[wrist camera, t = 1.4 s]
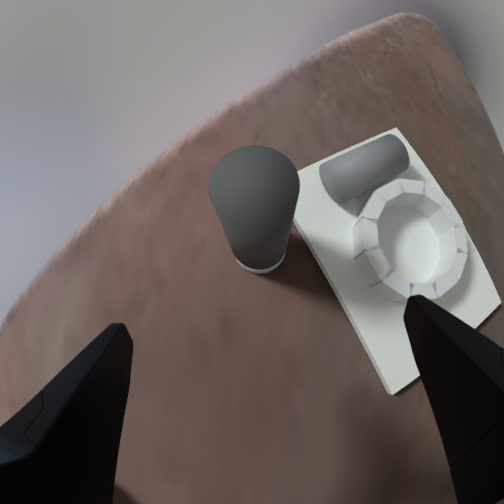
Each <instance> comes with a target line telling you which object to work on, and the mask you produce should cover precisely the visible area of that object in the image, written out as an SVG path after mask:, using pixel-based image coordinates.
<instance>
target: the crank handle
mask: <svg viewBox="0 0 504 504" xmlns="http://www.w3.org/2000/svg"><path fill="white" fill-rule="evenodd" d="M299 192H300V179H299V175H298V172H297V170H296V168H295V166H294V165H293V163H292V162H291V161H290V160H289V159H288V158H287V157H286V156H285V155H283V154H282V153H280V152H279V151H277V150H275V149H272V148H269V147H265V146H245V147H241V148H238V149H236V150H233V151H231V152H229V153H228V154H226V155H225V156H224V157H223V158H222V159H220V160H219V162H218V163H217V164H216V165H215V167H214V169H213V171H212V173H211V176H210V179H209V195H210V199H211V201H212V204H213V206H214V208H215V211H216V213H217V215H218V218H219V220H220V223H221V225H222V227H223V230H224V232H225V234H226V237H227V239H228V241H229V244H230V246H231V248H232V251H233V253H234V255H235V258H236V260H237V262H238V263H239V264H240V266H241V267H242V268H244V269H245V270H247V271H249V272H251V273H255V274H264V273H268V272H271V271H273V270H274V269H276V268H277V267H278V266H279V265H280V264H281V262H282V261H283V259H284V256H285V253H286V249H287V244H288V240H289V236H290V232H291V227H292V223H293V219H294V214H295V210H296V205H297V201H298V196H299Z"/></svg>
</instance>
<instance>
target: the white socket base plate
mask: <svg viewBox="0 0 504 504" xmlns="http://www.w3.org/2000/svg"><path fill="white" fill-rule="evenodd" d="M297 172H298V175H299V179H300V192H299V196H298V201H297V205H296V210H295V214H294V219H293V222H294V224H295V226H296V227H297V229H298V231H299V232H300V234H301V236H302V237H303V239H304V241H305V242H306V244H307V246H308V247H309V249H310V251H311V253H312V254H313V256H314V258H315V259H316V261H317V263H318V265H319V266H320V268H321V270H322V272H323V273H324V275H325V277H326V279H327V280H328V282H329V284H330V286H331V287H332V289H333V291H334V293H335V295H336V296H337V298H338V300H339V302H340V304H341V305H342V307H343V309H344V311H345V313H346V314H347V316H348V318H349V320H350V322H351V324H352V326H353V327H354V329H355V331H356V333H357V335H358V337H359V339H360V340H361V342H362V344H363V346H364V348H365V350H366V352H367V354H368V356H369V358H370V360H371V361H372V363H373V365H374V367H375V369H376V371H377V373H378V375H379V377H380V379H381V381H382V383H383V385H384V387H385V389H386V391H387V393H389V394H391V395H393V394H395V393H396V392H398V391H399V390H401V389H402V388H403V387H405V386H406V385H408V384H409V383H410V382H412V381H413V380H414V379H416V378H417V377H418V376H420V374H419V371H418V368H417V366H416V363H415V360H414V356H413V353H412V349H411V346H410V342H409V338H408V335H407V331H406V328H405V324H404V320H403V315H404V311H405V307H406V304H407V300H408V298H409V296H411V295H417V294H421V295H423V296H425V297H426V298H428V299H429V300H431V301H433V302H434V303H436V304H437V305H439V306H440V307H442V308H444V309H445V310H447V311H448V312H450V313H451V314H453V315H454V316H456V317H457V318H459V319H461V320H462V321H464V322H465V323H467V324H468V325H470V326H471V327H473V328H474V329H475V328H476V327H477V326H478V325H479V324H480V323H481V322H482V321H484V320H485V319H486V318H487V317H488V316H489V315H490V314H491V313H492V312H493V311H494V310H495V308H496V307H497V306H498V305H499V304H500V303H501V301H500V298H499V296H498V294H497V291H496V289H495V287H494V285H493V282H492V280H491V278H490V276H489V274H488V272H487V269H486V267H485V265H484V263H483V261H482V259H481V257H480V255H479V253H478V251H477V249H476V248H475V246H474V244H473V242H472V240H471V238H470V236H469V235H468V233H467V231H466V229H465V227H464V225H463V221H462V219H461V218H460V216H459V214H458V213H457V211H456V209H455V208H454V206H453V204H452V203H451V201H450V200H449V199H447V198H448V197H447V196H445V194H444V193H443V191H442V190H441V188H440V187H439V185H438V184H437V182H436V181H435V179H434V178H433V176H432V175H431V173H430V172H429V170H428V169H427V167H426V166H425V165H424V163H423V162H422V160H421V159H420V158H419V156H418V155H417V154H416V152H415V151H414V150H413V148H412V147H411V146H410V144H409V143H408V142H407V140H406V139H405V138H404V137H403V135H402V134H401V133H400V132H399V130H398V129H397V128H394V129H392V130H389V131H387V132H384V133H382V134H380V135H377V136H375V137H373V138H370V139H368V140H366V141H363V142H361V143H359V144H357V145H354V146H352V147H350V148H347V149H345V150H343V151H341V152H338V153H336V154H334V155H332V156H330V157H327V158H325V159H323V160H321V161H319V162H316V163H314V164H312V165H310V166H308V167H306V168H304V169H301V170H299V171H297Z"/></svg>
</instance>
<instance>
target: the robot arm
mask: <svg viewBox="0 0 504 504" xmlns="http://www.w3.org/2000/svg"><path fill="white" fill-rule="evenodd" d="M403 320H404V324H405V328H406V331H407V335H408V338H409V342H410V346H411V349H412V353H413V356H414V360H415V363H416V366H417V368H418V371H419V374H420V376H421V379H422V382H423V385H424V387H425V390H426V393H427V396H428V399H429V402H430V405H431V407H432V410H433V413H434V417H435V420H436V423H437V426H438V429H439V432H440V436H441V439H442V442H443V446H444V449H445V453H446V456H447V460H448V464H449V467H450V472H451V476H452V480H453V484H454V488H455V493H456V497H457V502H458V504H495V503H497V502H498V504H504V348H502V347H499V345H498V344H496V343H495V342H493V341H492V340H491V339H489V338H488V337H486V336H485V335H483V334H482V333H480V332H479V331H477V330H476V329H474V328H473V327H471V326H470V325H468V324H467V323H465V322H464V321H462V320H461V319H459V318H457V317H456V316H454V315H453V314H451V313H450V312H448V311H447V310H445V309H444V308H442V307H440V306H439V305H437V304H436V303H434V302H433V301H431V300H429V299H428V298H426V297H425V296H423V295H421V294H417V295H411V296H409V298H408V300H407V304H406V307H405V311H404V315H403ZM132 355H133V341H132V339H131V337H130V334H129V332H128V330H127V328H126V326H125V325H124V324H123V323H112V324H110V325H109V326H108V327H107V328H106V329H105V330H104V331H103V332H101V333H100V334H99V335H98V336H97V337H96V338H95V339H94V340H93V341H92V342H91V343H90V344H89V345H87V346H86V347H85V348H84V349H83V350H82V351H81V352H80V353H79V354H78V355H77V356H76V357H75V358H74V359H73V360H72V361H71V362H70V363H68V364H67V365H66V366H65V367H64V368H63V369H62V370H61V371H60V372H59V373H58V374H57V375H56V376H55V377H54V378H53V379H52V380H51V381H50V382H49V383H48V384H47V385H46V386H45V387H44V388H43V390H41V391H40V392H39V393H38V394H37V395H36V396H35V397H33V398H32V399H31V400H30V401H29V402H28V403H27V404H26V405H25V406H24V407H23V408H22V409H21V410H19V411H18V412H17V413H16V414H15V415H14V416H12V417H11V418H10V419H9V420H8V421H7V422H5V423H4V424H3V425H2V426H1V427H0V504H112V502H113V499H112V498H113V491H114V482H115V474H116V466H117V459H118V452H119V445H120V438H121V432H122V426H123V420H124V414H125V409H126V403H127V398H128V393H129V387H130V376H131V365H132Z"/></svg>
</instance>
